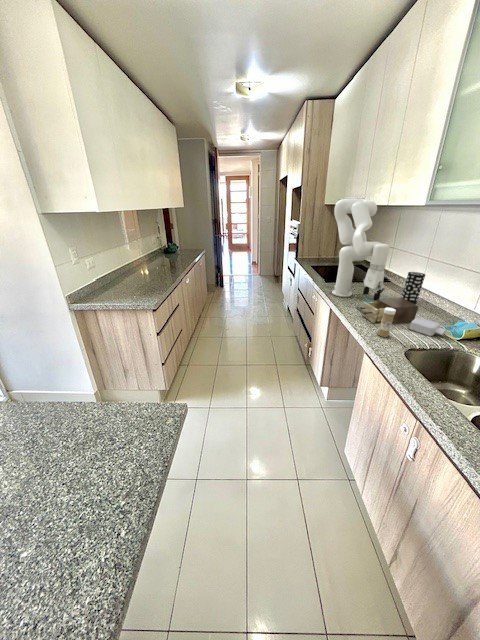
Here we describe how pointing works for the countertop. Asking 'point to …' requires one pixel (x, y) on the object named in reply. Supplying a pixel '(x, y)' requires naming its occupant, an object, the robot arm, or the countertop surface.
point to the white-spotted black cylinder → (413, 286)
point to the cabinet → (401, 309)
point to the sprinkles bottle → (386, 322)
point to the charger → (427, 327)
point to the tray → (372, 310)
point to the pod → (368, 301)
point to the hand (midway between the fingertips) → (370, 297)
